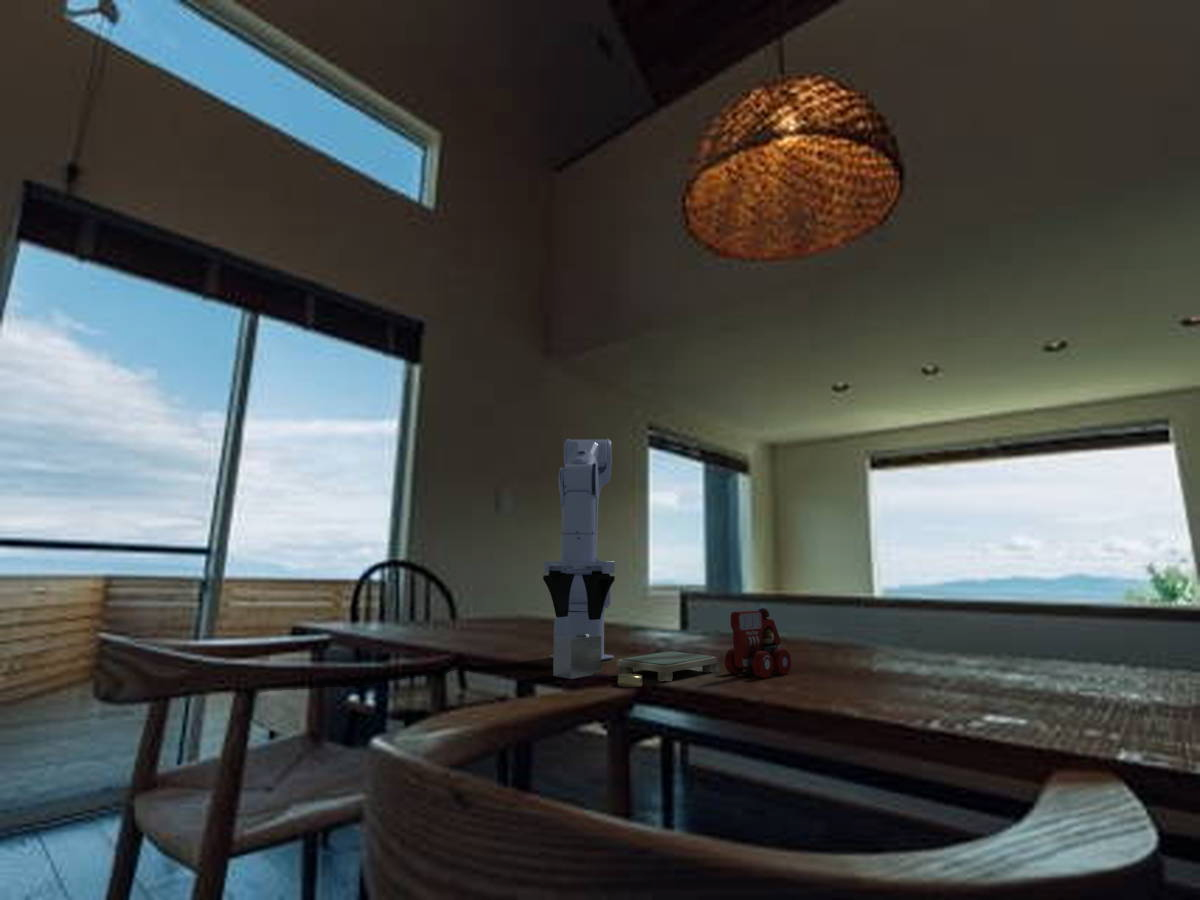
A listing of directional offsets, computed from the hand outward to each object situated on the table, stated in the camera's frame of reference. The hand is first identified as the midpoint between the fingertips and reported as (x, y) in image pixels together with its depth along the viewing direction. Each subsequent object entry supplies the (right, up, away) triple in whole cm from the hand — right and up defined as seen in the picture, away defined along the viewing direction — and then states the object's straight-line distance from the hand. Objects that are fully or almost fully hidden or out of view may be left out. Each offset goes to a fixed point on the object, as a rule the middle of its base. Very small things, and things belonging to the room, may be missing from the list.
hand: (577, 618), depth 106 cm
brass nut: (+8, -7, -10) cm, 15 cm away
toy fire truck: (+30, -9, -1) cm, 31 cm away
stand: (+15, -9, 0) cm, 17 cm away
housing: (0, -9, -2) cm, 9 cm away
